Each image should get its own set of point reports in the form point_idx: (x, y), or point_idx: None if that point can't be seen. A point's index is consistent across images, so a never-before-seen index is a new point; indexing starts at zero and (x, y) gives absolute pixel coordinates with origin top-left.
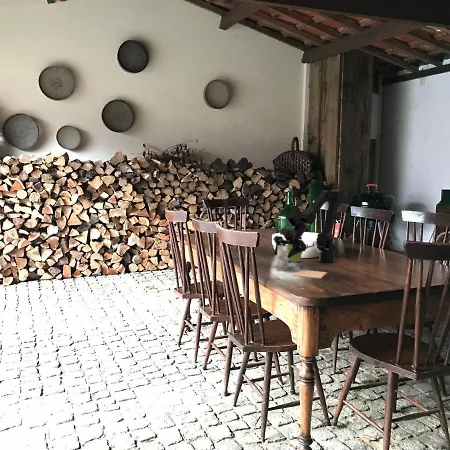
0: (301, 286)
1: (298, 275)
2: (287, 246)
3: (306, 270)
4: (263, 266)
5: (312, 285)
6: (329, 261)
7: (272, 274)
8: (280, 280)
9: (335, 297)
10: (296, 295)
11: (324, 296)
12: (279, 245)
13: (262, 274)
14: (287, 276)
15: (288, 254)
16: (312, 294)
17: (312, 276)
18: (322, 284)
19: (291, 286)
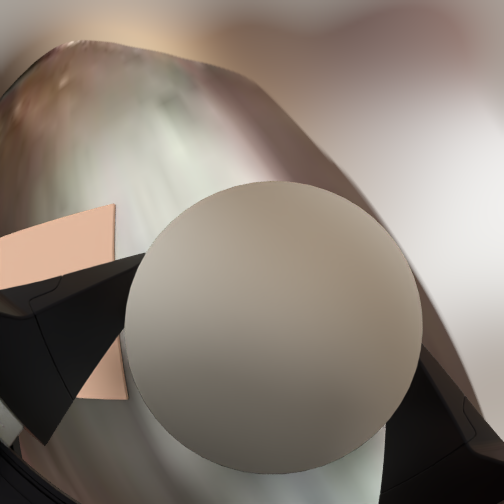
0: (65, 92)
1: (84, 215)
2: (127, 351)
3: (86, 391)
4: (438, 346)
5: (32, 125)
6: None
7: (247, 160)
8: (152, 94)
9: (5, 92)
10: (80, 41)
11: (23, 79)
12: (404, 359)
13: (300, 131)
14: (141, 171)
15: (127, 265)
16: (44, 69)
17: (25, 243)
18: (4, 159)
19: (96, 71)
